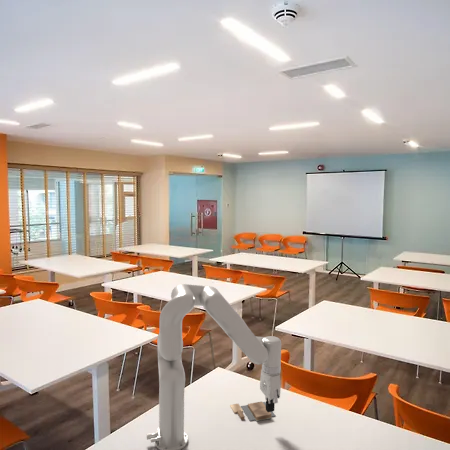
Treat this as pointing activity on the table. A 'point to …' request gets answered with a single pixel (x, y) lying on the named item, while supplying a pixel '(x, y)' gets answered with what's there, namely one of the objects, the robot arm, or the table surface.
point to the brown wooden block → (259, 411)
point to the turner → (237, 410)
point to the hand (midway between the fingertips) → (269, 410)
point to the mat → (248, 413)
